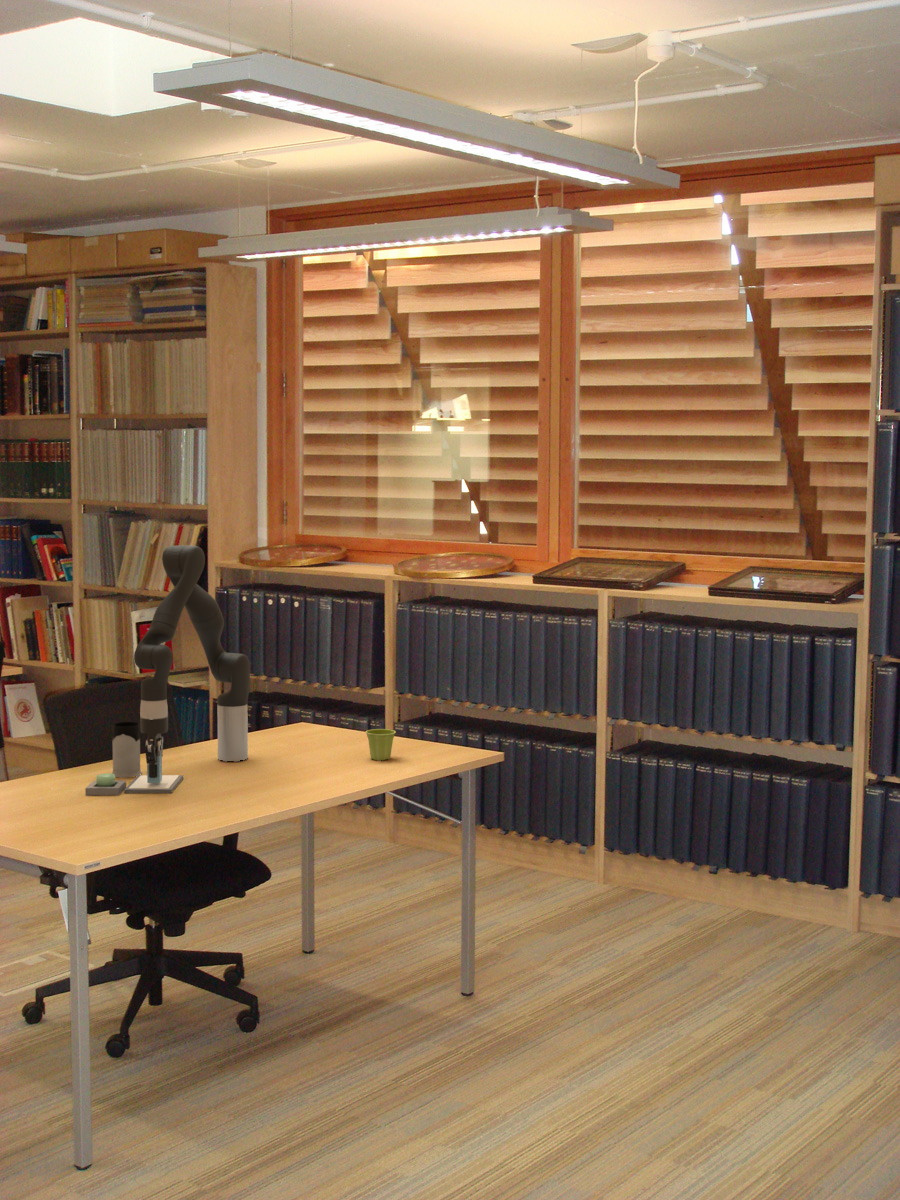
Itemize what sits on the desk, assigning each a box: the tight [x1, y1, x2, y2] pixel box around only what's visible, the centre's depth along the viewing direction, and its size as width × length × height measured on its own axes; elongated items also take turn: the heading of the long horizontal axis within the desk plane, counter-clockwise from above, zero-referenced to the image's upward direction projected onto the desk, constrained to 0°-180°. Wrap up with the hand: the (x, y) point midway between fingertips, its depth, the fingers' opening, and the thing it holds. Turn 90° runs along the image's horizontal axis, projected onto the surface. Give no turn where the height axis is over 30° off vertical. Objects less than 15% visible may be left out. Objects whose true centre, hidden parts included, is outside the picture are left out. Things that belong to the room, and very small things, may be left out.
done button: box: [95, 773, 116, 786], centre depth 356 cm, size 5×5×2 cm
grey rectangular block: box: [146, 749, 163, 783], centre depth 360 cm, size 4×4×9 cm
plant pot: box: [365, 728, 396, 761], centre depth 402 cm, size 9×9×9 cm
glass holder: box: [111, 721, 143, 779], centre depth 380 cm, size 9×14×15 cm, turn 1°
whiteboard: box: [123, 774, 184, 794], centre depth 364 cm, size 18×13×1 cm
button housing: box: [84, 780, 127, 796], centre depth 356 cm, size 9×9×2 cm
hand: (154, 775), depth 360 cm, fingers closed on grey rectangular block, 3 cm apart
